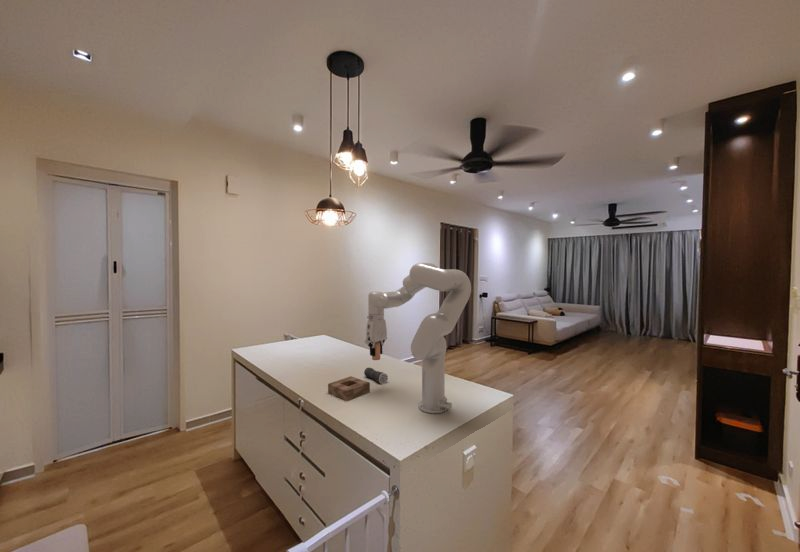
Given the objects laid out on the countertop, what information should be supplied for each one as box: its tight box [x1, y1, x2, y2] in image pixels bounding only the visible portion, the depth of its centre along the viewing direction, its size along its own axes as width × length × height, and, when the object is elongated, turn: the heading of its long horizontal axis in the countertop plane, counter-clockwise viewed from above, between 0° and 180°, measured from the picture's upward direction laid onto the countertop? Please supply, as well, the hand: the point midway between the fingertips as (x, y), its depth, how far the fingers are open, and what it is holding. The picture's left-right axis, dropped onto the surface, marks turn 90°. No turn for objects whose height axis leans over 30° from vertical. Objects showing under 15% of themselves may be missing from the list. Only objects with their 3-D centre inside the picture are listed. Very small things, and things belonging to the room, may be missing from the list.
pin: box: [371, 342, 381, 361], centre depth 151 cm, size 4×4×8 cm
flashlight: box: [363, 366, 389, 385], centre depth 167 cm, size 15×5×5 cm, turn 39°
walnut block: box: [327, 375, 371, 402], centre depth 149 cm, size 14×14×4 cm
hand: (376, 354), depth 151 cm, fingers closed on pin, 4 cm apart
